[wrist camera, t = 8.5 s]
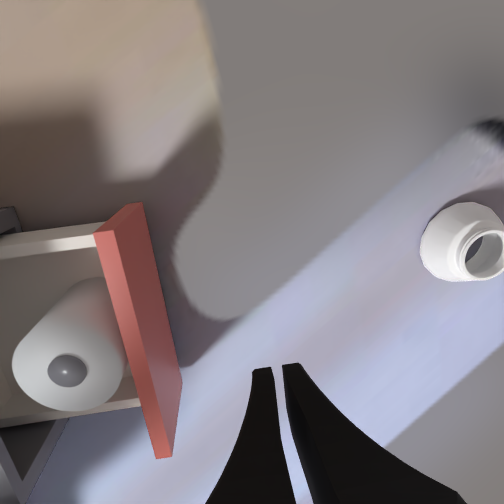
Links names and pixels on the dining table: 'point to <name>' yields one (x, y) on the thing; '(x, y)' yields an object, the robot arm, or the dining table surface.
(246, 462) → the robot arm
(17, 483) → the housing
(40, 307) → the red drawer
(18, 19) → the dining table surface
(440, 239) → the white jar
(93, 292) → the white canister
